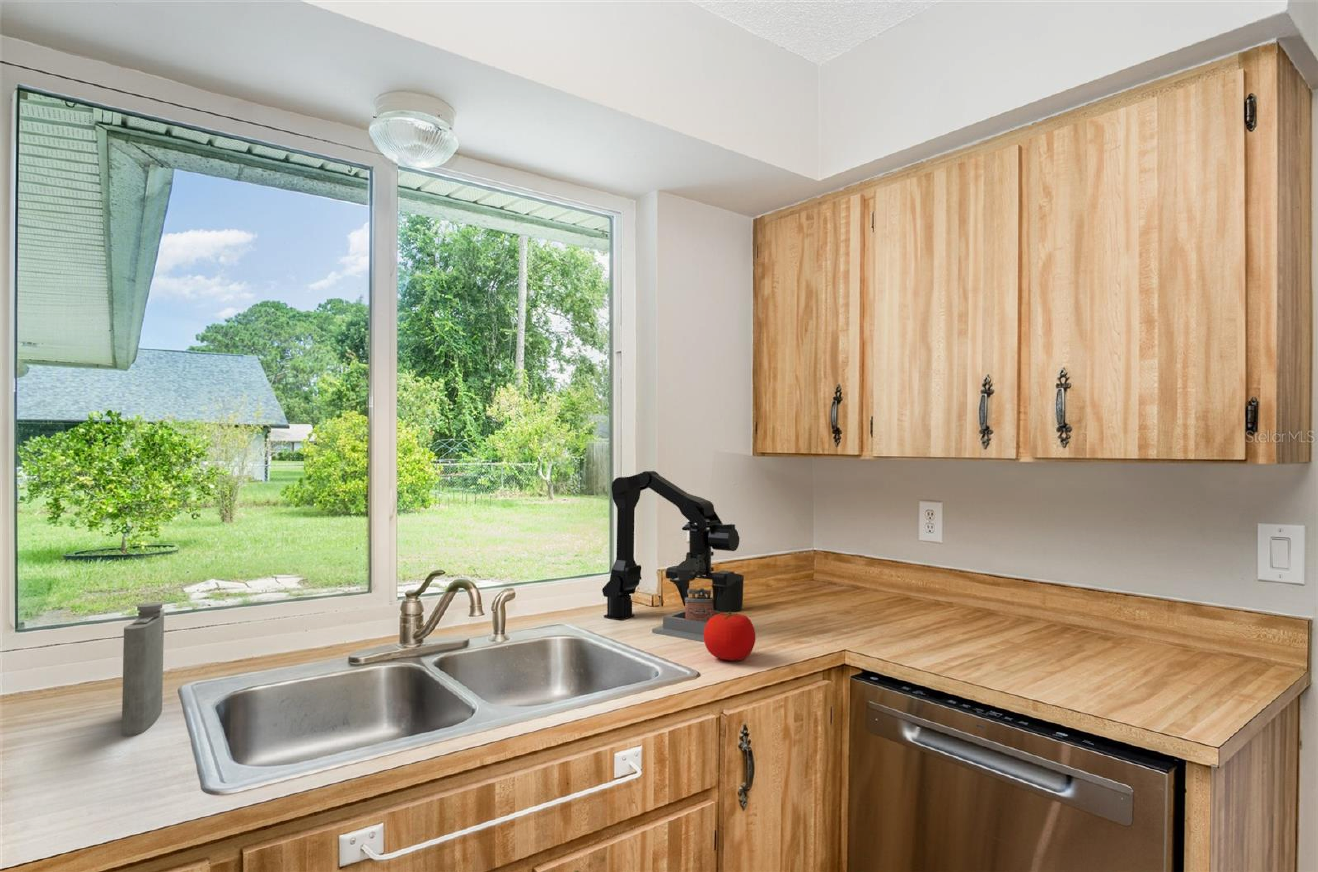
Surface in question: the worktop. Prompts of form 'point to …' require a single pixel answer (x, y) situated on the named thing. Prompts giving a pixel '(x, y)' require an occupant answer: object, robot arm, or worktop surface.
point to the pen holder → (732, 596)
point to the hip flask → (143, 670)
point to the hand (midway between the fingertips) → (700, 607)
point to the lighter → (699, 605)
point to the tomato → (729, 636)
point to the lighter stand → (682, 626)
